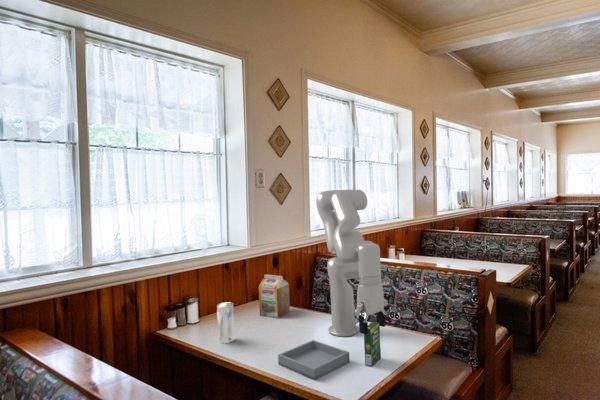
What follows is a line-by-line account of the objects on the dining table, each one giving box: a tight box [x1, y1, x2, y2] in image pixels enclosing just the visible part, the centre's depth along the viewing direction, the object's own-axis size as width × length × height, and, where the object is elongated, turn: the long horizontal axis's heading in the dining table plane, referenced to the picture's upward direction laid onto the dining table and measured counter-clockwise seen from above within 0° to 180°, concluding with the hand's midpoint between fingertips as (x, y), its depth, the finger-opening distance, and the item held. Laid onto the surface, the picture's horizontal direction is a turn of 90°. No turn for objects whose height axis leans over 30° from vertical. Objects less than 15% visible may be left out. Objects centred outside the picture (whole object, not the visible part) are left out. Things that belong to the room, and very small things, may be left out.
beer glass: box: [216, 301, 236, 344], centre depth 169 cm, size 7×7×15 cm
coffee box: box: [363, 320, 382, 367], centre depth 143 cm, size 8×3×13 cm, turn 146°
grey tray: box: [277, 339, 351, 381], centre depth 144 cm, size 18×18×4 cm
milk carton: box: [258, 274, 291, 319], centre depth 201 cm, size 11×11×19 cm
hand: (372, 329), depth 142 cm, fingers open, 9 cm apart
